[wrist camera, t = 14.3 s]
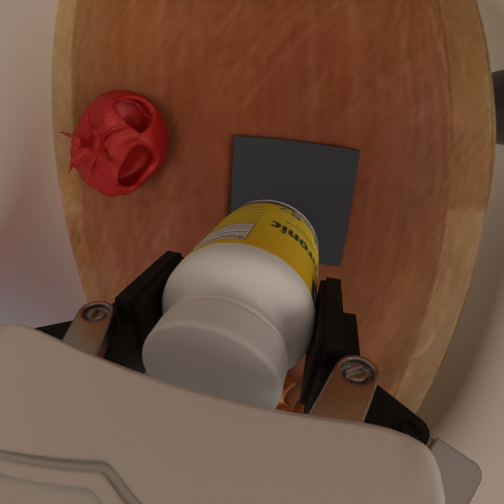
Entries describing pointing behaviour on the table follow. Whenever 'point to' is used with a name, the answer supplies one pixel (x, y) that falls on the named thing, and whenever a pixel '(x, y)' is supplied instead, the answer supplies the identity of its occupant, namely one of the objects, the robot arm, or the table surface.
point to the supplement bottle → (239, 307)
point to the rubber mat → (299, 184)
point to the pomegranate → (118, 142)
